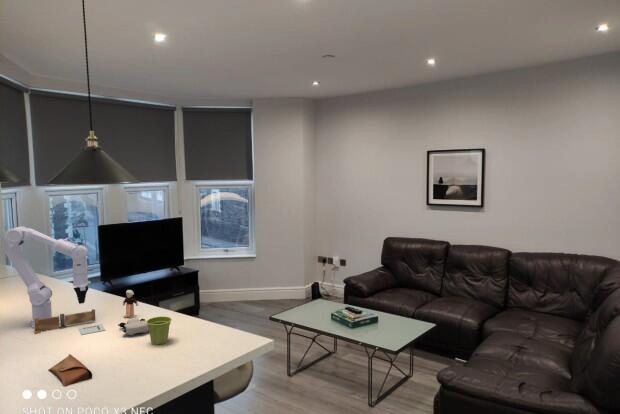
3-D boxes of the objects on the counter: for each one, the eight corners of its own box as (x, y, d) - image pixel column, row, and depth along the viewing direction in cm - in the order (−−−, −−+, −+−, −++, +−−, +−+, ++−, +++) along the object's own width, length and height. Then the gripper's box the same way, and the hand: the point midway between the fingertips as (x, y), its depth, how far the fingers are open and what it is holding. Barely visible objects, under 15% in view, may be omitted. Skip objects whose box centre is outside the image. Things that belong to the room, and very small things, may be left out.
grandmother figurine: (120, 318, 196) (119, 291, 195) (123, 315, 200) (122, 289, 199) (137, 318, 196) (136, 291, 195) (140, 315, 200) (139, 288, 199)
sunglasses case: (45, 369, 144) (56, 349, 146) (65, 373, 149) (75, 354, 151) (64, 387, 132) (75, 365, 134) (85, 391, 137) (96, 370, 139)
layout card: (78, 328, 183) (78, 327, 183) (101, 324, 188) (101, 323, 188) (81, 335, 176) (81, 334, 176) (105, 330, 181) (105, 329, 181)
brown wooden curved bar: (60, 326, 183) (60, 315, 183) (60, 325, 185) (59, 314, 184) (95, 320, 191) (95, 309, 190) (95, 319, 192) (94, 308, 192)
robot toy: (116, 331, 183) (124, 339, 170) (115, 320, 183) (123, 328, 170) (146, 325, 190) (156, 332, 178) (145, 315, 190) (155, 321, 178)
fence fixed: (34, 330, 181) (33, 317, 180) (66, 325, 187) (65, 312, 187) (34, 334, 177) (34, 320, 176) (67, 328, 183) (66, 315, 183)
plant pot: (177, 339, 171) (176, 317, 170) (161, 348, 162) (161, 325, 162) (157, 336, 174) (157, 315, 174) (141, 344, 165) (140, 322, 165)
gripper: (92, 275, 188) (93, 305, 189) (88, 269, 200) (89, 297, 201) (74, 277, 184) (75, 308, 185) (70, 271, 196) (72, 300, 197)
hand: (81, 303), depth 192 cm, fingers closed
